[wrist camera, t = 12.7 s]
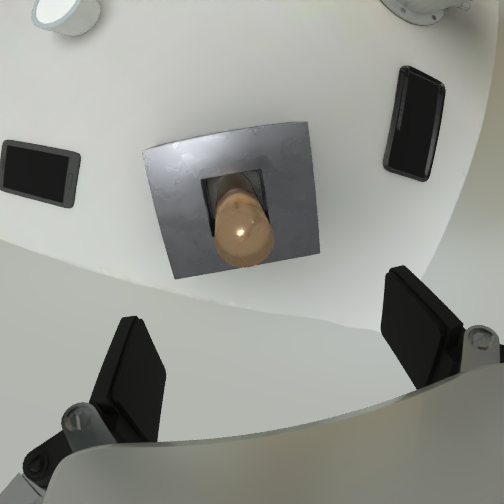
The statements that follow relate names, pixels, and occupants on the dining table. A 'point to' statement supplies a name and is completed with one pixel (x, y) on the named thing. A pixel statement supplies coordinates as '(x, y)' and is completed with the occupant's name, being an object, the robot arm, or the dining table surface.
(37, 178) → the cell phone
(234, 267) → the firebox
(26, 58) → the dining table surface
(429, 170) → the phone
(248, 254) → the brown long cylinder
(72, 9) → the white cylinder
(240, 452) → the robot arm
